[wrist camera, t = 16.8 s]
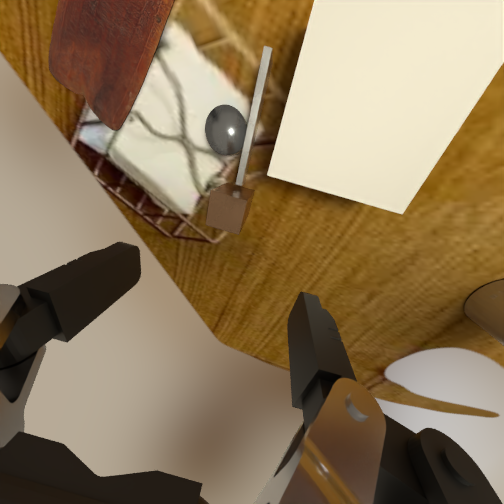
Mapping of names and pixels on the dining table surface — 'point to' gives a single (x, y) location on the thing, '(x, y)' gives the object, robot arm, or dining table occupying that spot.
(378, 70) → the plinth shelf
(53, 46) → the wooden tablet
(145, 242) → the dining table surface
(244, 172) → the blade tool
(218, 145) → the token
